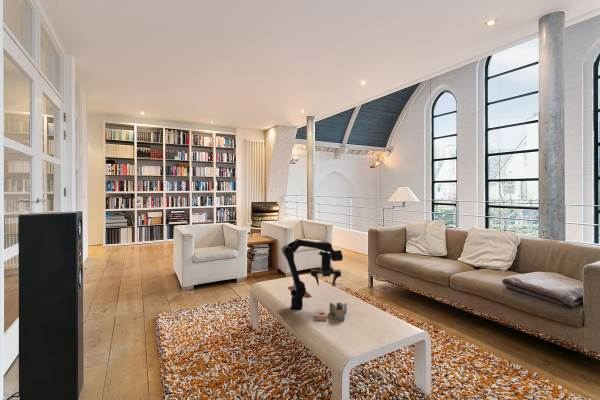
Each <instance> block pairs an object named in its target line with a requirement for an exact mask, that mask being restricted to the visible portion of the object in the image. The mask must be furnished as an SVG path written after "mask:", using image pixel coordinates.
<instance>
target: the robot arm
mask: <svg viewBox="0 0 600 400" xmlns="http://www.w3.org/2000/svg"><path fill="white" fill-rule="evenodd" d="M300 247H305V248H311V249H312V248H313V249H317V250H320V251H319V252H318V255H320V256H321V264H320V265H321V270H318V269H316V268H312V269H311V270H310V276H311V277H313V278H315V281H316V283H317V287H319V285H320V284H319V276H318V275H321V276H323V277H324V278H325V277H331V275H333V276H332V287H334V286H335V282H336V280H337V278H339V277H342V272H341V270H340V269H334V268H333V267H331V264H332V263H331V261H332V262H342V261H343V257H344V256H343V253H342V250H340V249H339V250H334V248H333V245H332V244H331V243H330V242H328V241H325V240H324V241H323V240H321V241H311V240H307V239H300V238H296V239H295V240H293V241H291V242H290V243H288V244H287V245H286V244H285V245H284V246H282V248H281V252H282V254H283V256H284V258H285V259H286V261H287V264H288V267H289V271H290V275H291V278H292V281H293V285H292V286H294V290H293V291H290V293H289V294H290V297H291V298H290V299H291V301H290V303H291V304H290V305H291V306H290V310H297V311H298V310H299V311H300V310H301V311H302V310H303V304H304V303H303V301H304V300H303V299H304V298H303V296H304V295H305V293H306V292H307V291H306V290H307V288H306V285H305V283H304V282H303V281H302V280H301V279H300V276H299V272H298V269H297V265H296V262H295V252H296V251H297V250H298V249H299V248H300Z"/></svg>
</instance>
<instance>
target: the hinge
mask: <svg viewBox="0 0 600 400" xmlns="http://www.w3.org/2000/svg"><path fill="white" fill-rule="evenodd" d="M347 312H348V302H345V303H343V306H342V307H341V309H338V306H337V304H334V303H333V302H329V314H331V315H332V314H333V315H332V316H333V317H334V320H335V321H337V320H338V321H340V320H341V321H344V322H345V320H346V319H345V317H346V315H347Z"/></svg>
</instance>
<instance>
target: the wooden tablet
mask: <svg viewBox="0 0 600 400" xmlns="http://www.w3.org/2000/svg"><path fill="white" fill-rule="evenodd" d="M287 289H288V290H289V292H292V291H293V290H294V286H293V285H290V286H287ZM308 298H312V295H311V294H310V293H309V292H307V291H306V293H305V295H304V296H303V299H308Z"/></svg>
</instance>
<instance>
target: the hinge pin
mask: <svg viewBox="0 0 600 400" xmlns="http://www.w3.org/2000/svg"><path fill="white" fill-rule="evenodd" d="M343 305H344V303H342V302H337V303H336V306H338V309H341V307H342V306H343Z"/></svg>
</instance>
